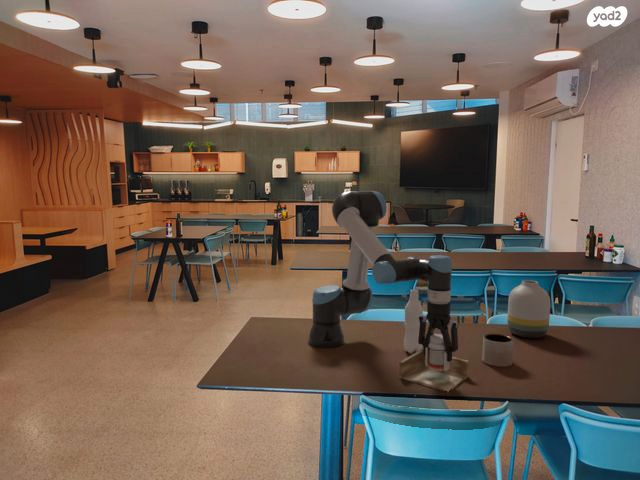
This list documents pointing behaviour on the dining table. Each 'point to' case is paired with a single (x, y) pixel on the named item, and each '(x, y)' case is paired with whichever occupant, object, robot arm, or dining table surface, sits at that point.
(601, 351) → the dining table surface
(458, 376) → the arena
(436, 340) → the pill bottle
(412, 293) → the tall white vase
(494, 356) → the planter
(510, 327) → the vase
